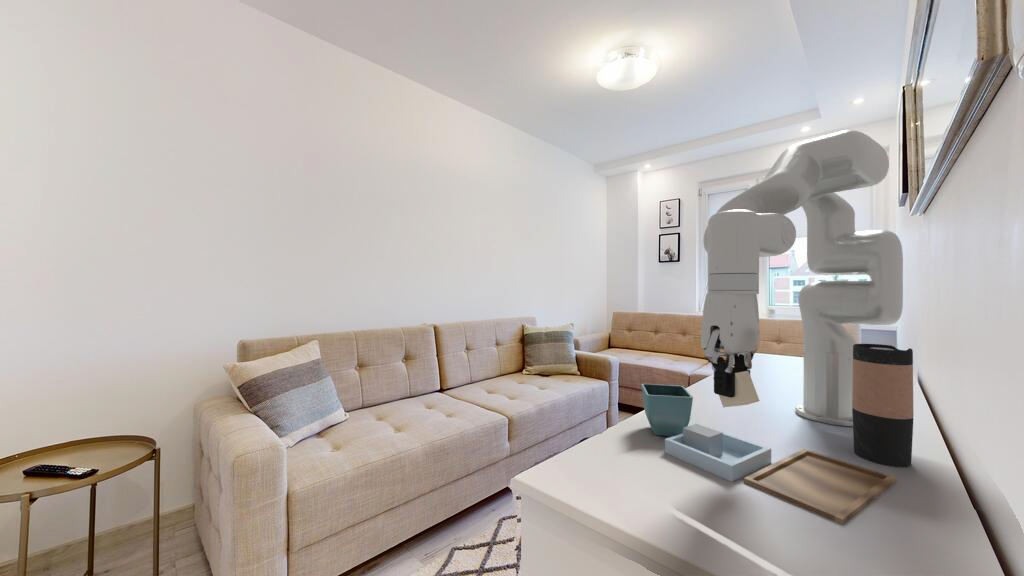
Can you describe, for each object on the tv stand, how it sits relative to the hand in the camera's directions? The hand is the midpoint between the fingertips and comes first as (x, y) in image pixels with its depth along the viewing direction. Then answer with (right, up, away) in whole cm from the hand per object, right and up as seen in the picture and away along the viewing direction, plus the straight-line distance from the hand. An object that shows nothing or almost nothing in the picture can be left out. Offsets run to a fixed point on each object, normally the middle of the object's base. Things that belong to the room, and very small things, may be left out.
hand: (732, 392), depth 64 cm
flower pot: (-5, -13, +16) cm, 21 cm away
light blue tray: (-1, -13, +3) cm, 13 cm away
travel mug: (+28, -13, +2) cm, 30 cm away
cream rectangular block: (+1, -2, -1) cm, 2 cm away
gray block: (-4, -10, +7) cm, 13 cm away
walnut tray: (+10, -13, -6) cm, 17 cm away
